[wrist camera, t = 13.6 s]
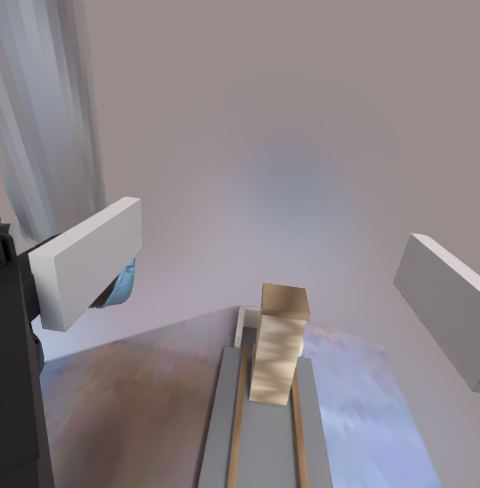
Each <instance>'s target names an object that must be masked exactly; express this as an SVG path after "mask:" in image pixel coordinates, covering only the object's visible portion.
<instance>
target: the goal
mask: <svg viewBox="0 0 480 488" xmlns="http://www.w3.org/2000/svg"><path fill="white" fill-rule="evenodd" d="M260 311H261V308H257V307H250V306H243V305H240V309H239V316H238V323H237V329H236V336H235V344H234V348H240V349H243V343H246V344H248V350H253V346H254V344H255V342H256V336H257V329H258V323H259V317H260ZM302 350H303V339H302V341H301V346H300V350H299V354H298V357H301V354H302Z"/></svg>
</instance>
